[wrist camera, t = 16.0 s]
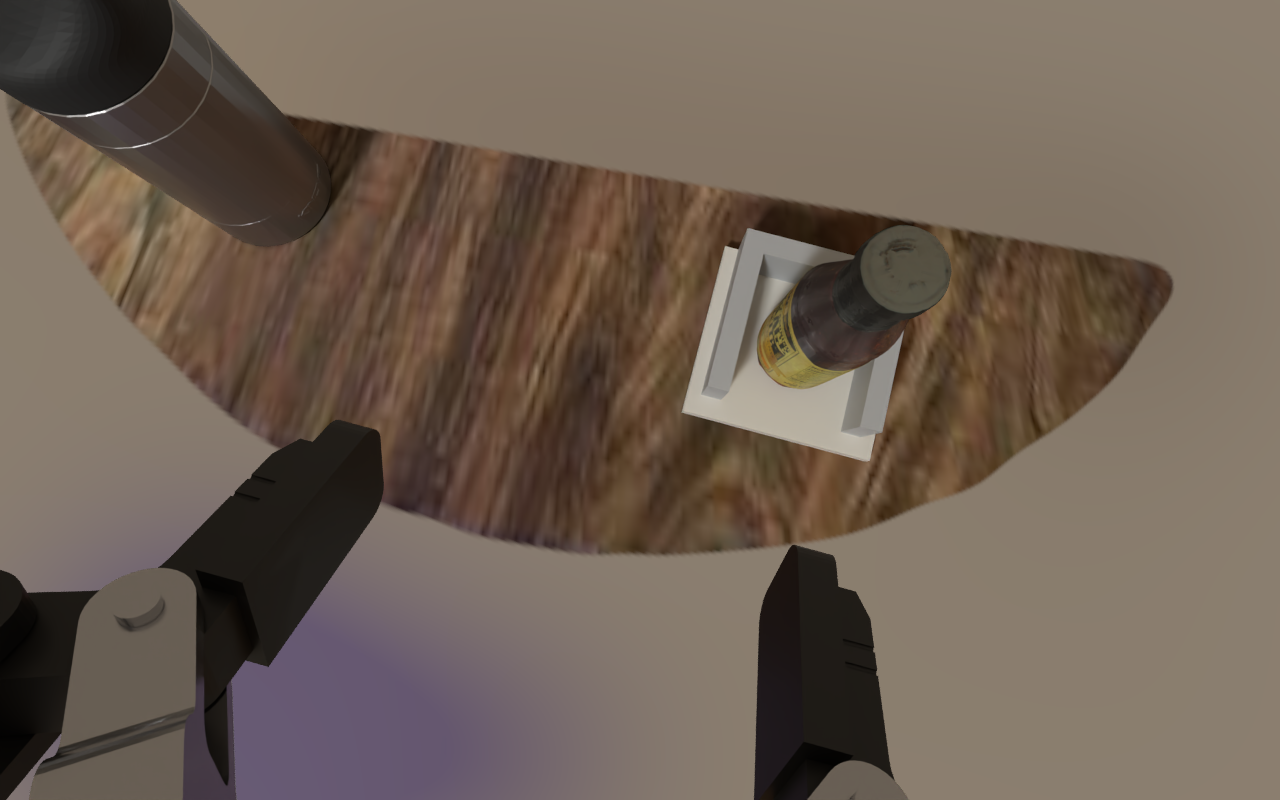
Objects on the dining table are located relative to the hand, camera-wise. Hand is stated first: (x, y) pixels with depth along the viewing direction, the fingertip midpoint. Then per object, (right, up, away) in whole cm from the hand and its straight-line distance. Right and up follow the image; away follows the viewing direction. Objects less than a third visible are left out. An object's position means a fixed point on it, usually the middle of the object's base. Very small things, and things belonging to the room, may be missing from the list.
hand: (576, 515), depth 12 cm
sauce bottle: (+13, +6, +35) cm, 38 cm away
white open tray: (+13, +6, +36) cm, 39 cm away
